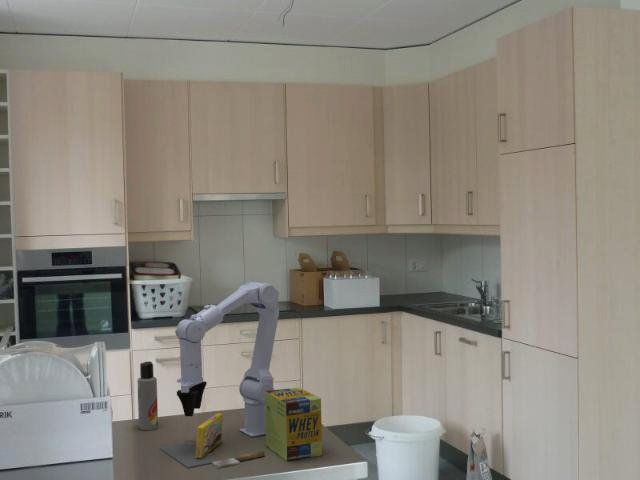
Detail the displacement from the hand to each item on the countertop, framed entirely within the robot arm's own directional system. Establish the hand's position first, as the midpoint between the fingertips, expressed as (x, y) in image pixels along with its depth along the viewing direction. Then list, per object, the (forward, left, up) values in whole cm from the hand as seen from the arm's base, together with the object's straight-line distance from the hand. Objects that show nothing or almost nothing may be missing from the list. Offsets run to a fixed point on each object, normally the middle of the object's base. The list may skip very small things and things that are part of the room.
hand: (192, 412), depth 218 cm
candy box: (-3, +5, -10) cm, 11 cm away
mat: (+3, +5, -10) cm, 12 cm away
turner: (-6, +17, -10) cm, 21 cm away
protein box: (-22, +18, -10) cm, 30 cm away
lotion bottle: (+3, -26, -10) cm, 28 cm away
